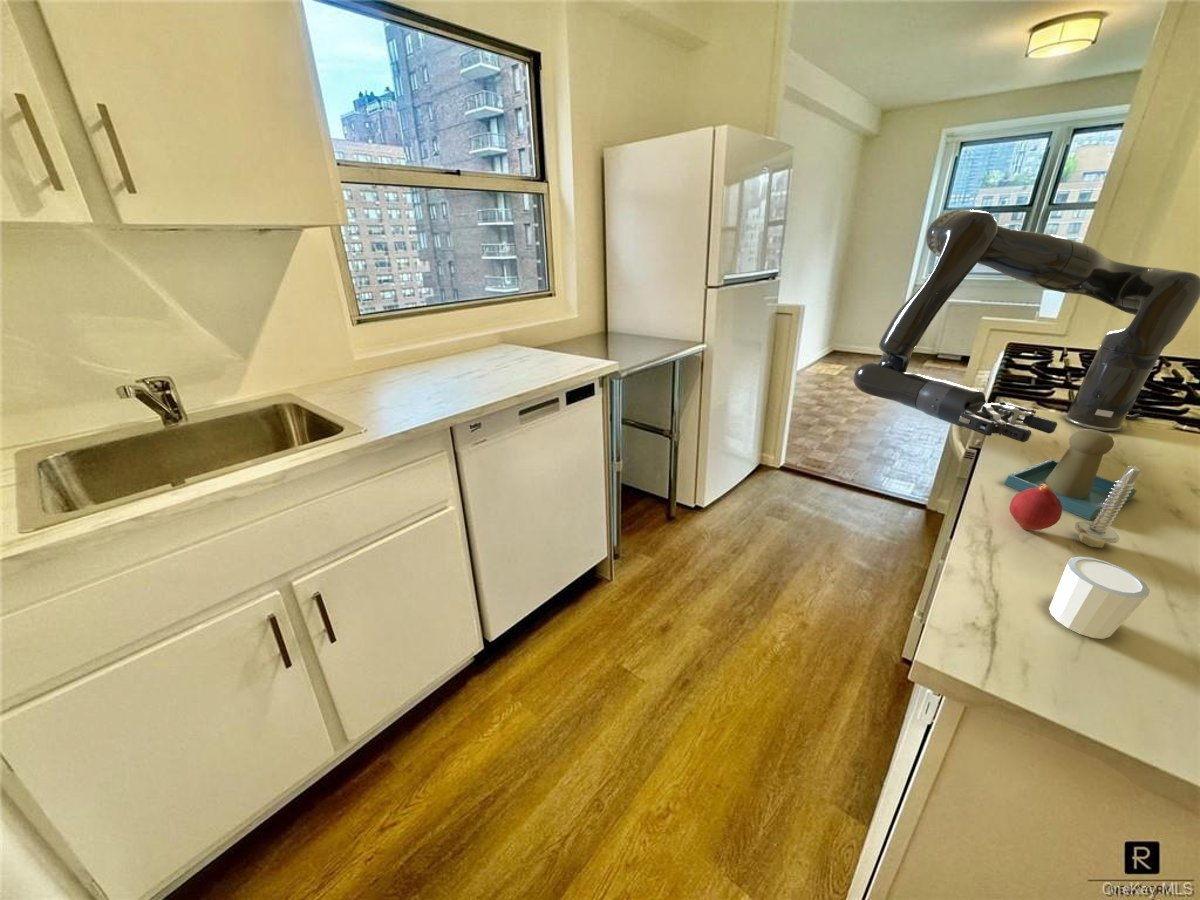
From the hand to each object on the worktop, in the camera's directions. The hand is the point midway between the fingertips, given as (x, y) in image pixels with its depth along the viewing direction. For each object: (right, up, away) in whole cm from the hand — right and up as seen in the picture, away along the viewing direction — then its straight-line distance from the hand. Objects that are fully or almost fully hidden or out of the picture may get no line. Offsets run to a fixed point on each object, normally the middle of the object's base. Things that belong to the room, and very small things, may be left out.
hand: (1042, 432), depth 85 cm
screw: (-6, -17, -14) cm, 23 cm away
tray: (+3, -10, -1) cm, 11 cm away
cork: (+3, -10, -1) cm, 11 cm away
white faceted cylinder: (-21, -24, -27) cm, 42 cm away
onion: (-13, -15, -11) cm, 23 cm away
